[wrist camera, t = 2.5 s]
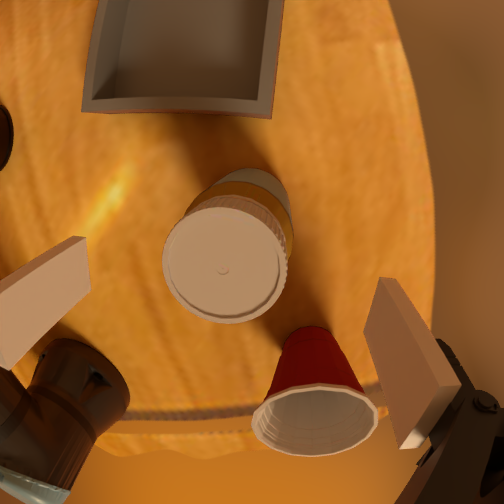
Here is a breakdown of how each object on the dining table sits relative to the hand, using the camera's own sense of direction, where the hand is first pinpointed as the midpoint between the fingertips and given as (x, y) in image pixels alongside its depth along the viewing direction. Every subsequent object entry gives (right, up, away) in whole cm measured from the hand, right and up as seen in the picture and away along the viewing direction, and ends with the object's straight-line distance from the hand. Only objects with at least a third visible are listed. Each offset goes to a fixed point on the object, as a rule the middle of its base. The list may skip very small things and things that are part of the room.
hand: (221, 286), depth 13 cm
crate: (-4, +25, +9) cm, 27 cm away
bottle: (+1, +6, +16) cm, 17 cm away
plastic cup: (+8, -9, +21) cm, 24 cm away
